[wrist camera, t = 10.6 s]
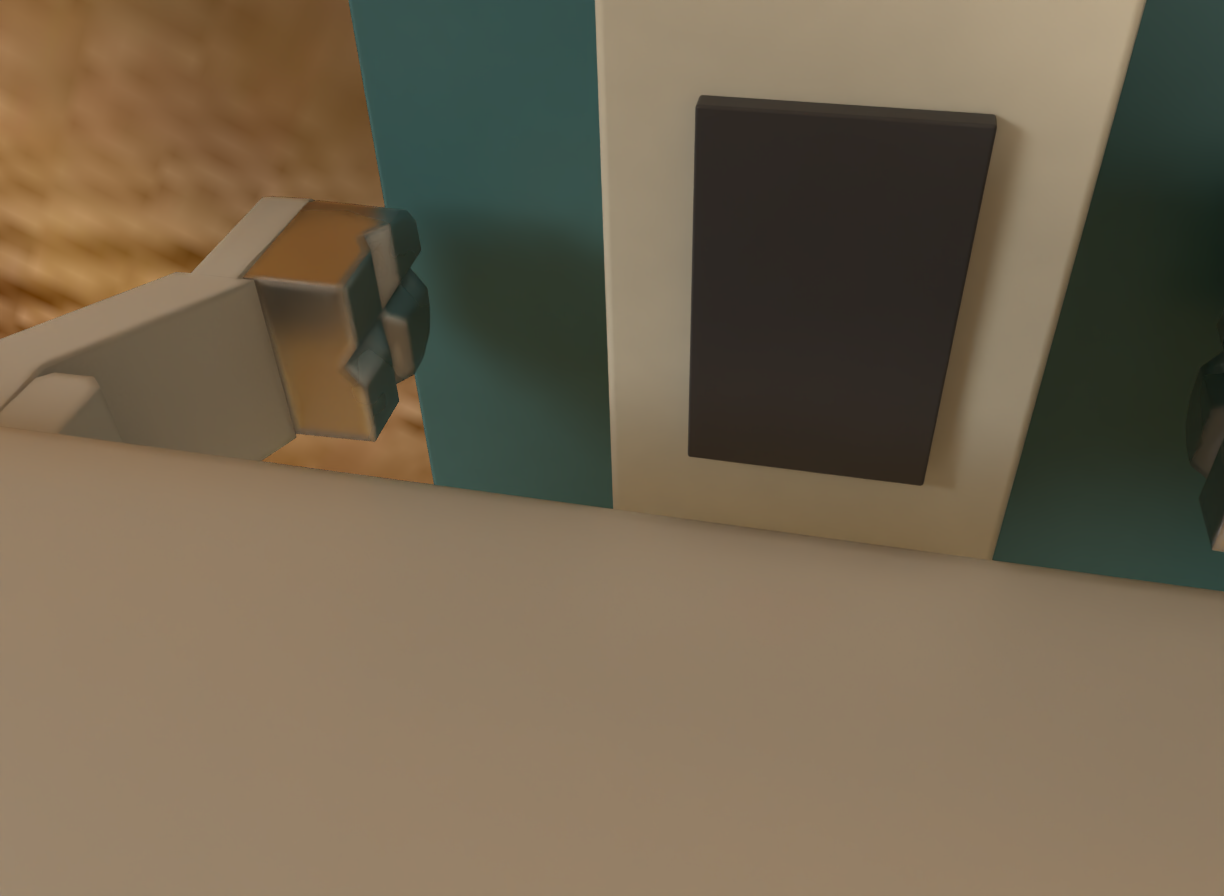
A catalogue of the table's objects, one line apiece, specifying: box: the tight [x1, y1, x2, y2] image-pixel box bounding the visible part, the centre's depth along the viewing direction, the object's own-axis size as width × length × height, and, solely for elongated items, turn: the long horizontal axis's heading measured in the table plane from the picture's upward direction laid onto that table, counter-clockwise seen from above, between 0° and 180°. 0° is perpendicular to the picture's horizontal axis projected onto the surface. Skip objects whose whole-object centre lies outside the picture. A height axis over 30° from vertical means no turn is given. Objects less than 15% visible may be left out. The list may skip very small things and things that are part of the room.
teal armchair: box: [349, 0, 1224, 592], centre depth 12 cm, size 13×17×10 cm
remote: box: [595, 0, 1146, 560], centre depth 11 cm, size 4×12×3 cm, turn 1°
